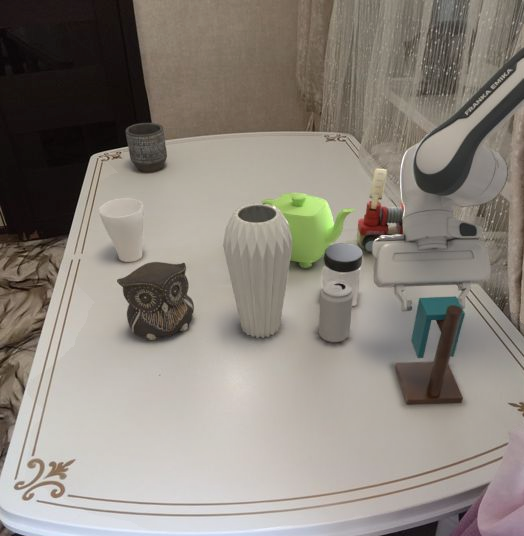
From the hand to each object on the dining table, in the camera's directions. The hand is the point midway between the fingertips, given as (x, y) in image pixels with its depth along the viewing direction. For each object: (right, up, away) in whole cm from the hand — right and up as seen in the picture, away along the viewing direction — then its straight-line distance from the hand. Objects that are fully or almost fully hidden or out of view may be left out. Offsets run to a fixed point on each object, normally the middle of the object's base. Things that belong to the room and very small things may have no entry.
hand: (433, 309), depth 97 cm
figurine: (-52, -2, +21) cm, 57 cm away
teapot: (-21, +15, +40) cm, 48 cm away
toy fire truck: (+2, +21, +46) cm, 51 cm away
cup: (-64, +17, +43) cm, 79 cm away
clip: (0, -7, +1) cm, 7 cm away
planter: (-68, +54, +87) cm, 123 cm away
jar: (-13, +4, +27) cm, 30 cm away
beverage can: (-16, -4, +17) cm, 24 cm away
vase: (-31, -2, +20) cm, 37 cm away
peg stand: (0, -14, +5) cm, 15 cm away
